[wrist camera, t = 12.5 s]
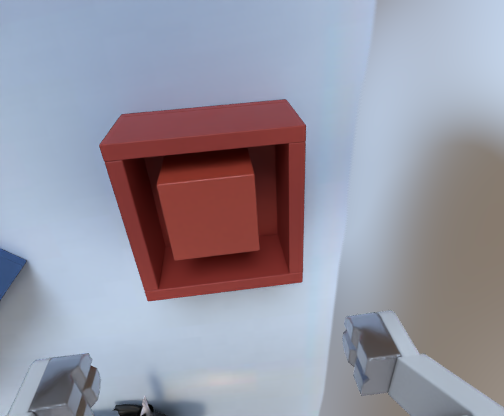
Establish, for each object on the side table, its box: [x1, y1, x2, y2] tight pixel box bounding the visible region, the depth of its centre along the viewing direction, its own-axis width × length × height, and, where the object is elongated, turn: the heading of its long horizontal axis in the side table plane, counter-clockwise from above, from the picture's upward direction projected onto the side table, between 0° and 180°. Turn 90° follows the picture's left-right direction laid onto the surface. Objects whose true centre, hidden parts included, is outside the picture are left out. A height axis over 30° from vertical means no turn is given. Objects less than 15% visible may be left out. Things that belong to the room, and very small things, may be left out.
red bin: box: [99, 99, 306, 301], centre depth 20 cm, size 10×9×5 cm
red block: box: [156, 147, 260, 261], centre depth 19 cm, size 4×4×4 cm
